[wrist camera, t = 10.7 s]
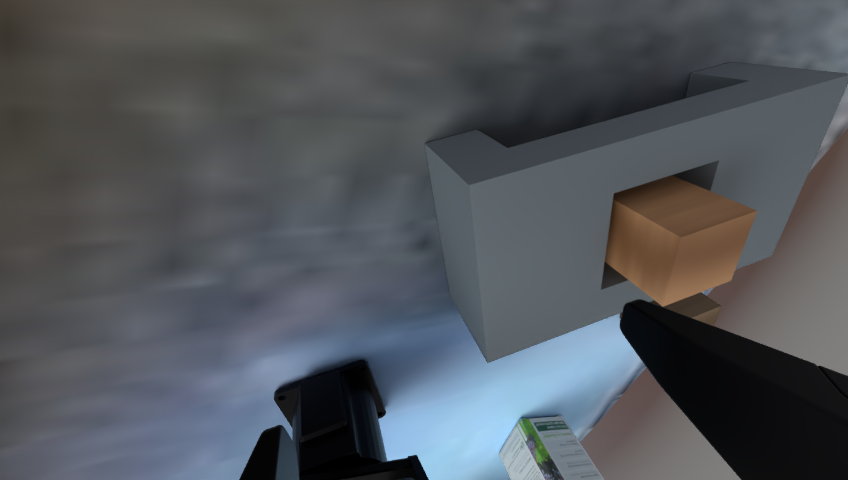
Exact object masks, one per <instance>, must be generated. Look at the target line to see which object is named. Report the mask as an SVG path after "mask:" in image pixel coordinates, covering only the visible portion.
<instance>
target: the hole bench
mask: <svg viewBox="0 0 848 480" xmlns="http://www.w3.org/2000/svg"><path fill="white" fill-rule="evenodd" d="M847 84H848V74H847V73H837V72H827V71H817V70H807V69H797V68H787V67H777V66H767V65H757V64H746V63H736V62H729V63H726V64H722V65H718V66H714V67H710V68H707V69H703V70H699V71H695V72H692V73H691V74H690V79H689V84H688V88H687V93H686V97H685V99H682V100H679V101H675V102H671V103H668V104H664V105H661V106H657V107H653V108H650V109H646V110H643V111H639V112H635V113H632V114H628V115H625V116H621V117H617V118H614V119H610V120H607V121H603V122H599V123H596V124H592V125H589V126H585V127H581V128H578V129H574V130H571V131H567V132H563V133H560V134H556V135H553V136H549V137H545V138H542V139H538V140H535V141H531V142H527V143H524V144H520V145H517V146H513V147H509V148H507V147H505V146H503V145H502V144H500V143H498V142H497V141H495V140H494V139H492V138H490V137H489V136H487V135H485V134H484V133H482V132H480V131H479V130H473V131H469V132H465V133H462V134H458V135H454V136H450V137H447V138H443V139H439V140H435V141H431V142H428V143H425V148H426V154H427V160H428V166H429V172H430V178H431V185H432V191H433V197H434V203H435V209H436V215H437V221H438V227H439V233H440V239H441V245H442V251H443V257H444V263H445V269H446V275H447V281H448V287H449V293H450V297H451V299H452V301H453V303H454V304H455V306H456V308H457V310H458V311H459V313H460V315H461V317H462V319H463V320H464V322H465V324H466V326H467V327H468V329H469V331H470V333H471V334H472V336H473V338H474V340H475V341H476V343H477V345H478V347H479V349H480V350H481V352H482V354H483V356H484V357H485V359H486V361H487V363H489V362H491V361H494V360H497V359H499V358H502V357H505V356H507V355H510V354H513V353H515V352H518V351H521V350H523V349H526V348H529V347H531V346H534V345H536V344H539V343H542V342H544V341H547V340H550V339H552V338H555V337H558V336H560V335H563V334H566V333H568V332H571V331H574V330H576V329H579V328H582V327H584V326H587V325H590V324H592V323H595V322H598V321H600V320H603V319H606V318H608V317H611V316H614V315H616V314H619V313H621V312H622V311H623V307H624V305H625V304H626V303H628V302H630V301H633V300H636V299H642V300H645V301H648V302H651V301H653V300H654V299H652V298H651V297H650V296H648V295H647V294H646V293H645V292H643V291H642V290H641V289H639V288H638V287H637V286H636V285H634V284H633V283H632V282H630V281H629V280H628V279H627V278H625V277H624V276H623V275H621V274H620V273H619V272H618V271H616V270H615V269H614V268H612V267H611V266H610V265H609V264H607V263H606V262H605V255H606V247H607V240H608V232H609V225H610V217H611V210H612V202H613V195H614V193H617V192H620V191H623V190H626V189H629V188H632V187H636V186H639V185H642V184H645V183H648V182H651V181H655V180H658V179H661V178H664V177H667V176H670V175H672V176H675V177H677V178H680V179H682V180H684V181H687V182H689V183H692V184H694V185H697V186H699V187H701V188H704V189H706V190H709V191H711V192H714V193H716V194H718V195H721V196H723V197H726V198H728V199H730V200H733V201H735V202H738V203H740V204H743V205H745V206H747V207H750V208H752V209H755V210H757V214H756V216H755V219H754V221H753V224H752V227H751V229H750V232H749V235H748V237H747V240H746V242H745V245H744V248H743V250H742V253H741V256H740V258H739V261H738V263H737V266H736V269H738V268H741V267H744V266H746V265H749V264H752V263H754V262H757V261H760V260H762V259H765V258H768V257H770V256H772V254H773V252H774V250H775V247H776V245H777V243H778V241H779V238H780V236H781V234H782V232H783V229H784V227H785V225H786V222H787V220H788V218H789V216H790V213H791V211H792V209H793V207H794V204H795V202H796V200H797V198H798V195H799V193H800V191H801V188H802V186H803V184H804V182H805V179H806V177H807V175H808V173H809V170H810V168H811V166H812V164H813V161H814V159H815V157H816V155H817V152H818V150H819V148H820V146H821V143H822V141H823V139H824V136H825V134H826V132H827V130H828V127H829V125H830V123H831V121H832V118H833V116H834V114H835V112H836V109H837V107H838V105H839V103H840V100H841V98H842V96H843V93H844V91H845V89H846V87H847ZM736 269H735V270H736Z"/></svg>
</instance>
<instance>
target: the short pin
mask: <svg viewBox="0 0 848 480" xmlns="http://www.w3.org/2000/svg"><path fill="white" fill-rule="evenodd" d="M650 303H653V304H656V305H658V306H661V305H660V304H659V303H657V302H656V301H655V300H653V301H651V302H650ZM661 307H662V306H661ZM664 308H666V309H669V310H672V311H674V312H677V313H680V314H683V315H685V316H688V317H691V318H693V319H696V320H699V321H701V322H704V323H707V324H709V325H712V326H714V324H715V322H716V319H717V316H718V314H719V311H720V308H721V305H719V304H717V303H716V302H715V301H713V300H712V299H710V298H709V297H707V296H706V295H704V294H703V293H701V292H700V293H697V294H695V295H692V296H690V297H687V298H684V299H682V300H679V301H677V302H674V303H671V304H669V305H666V306H664ZM621 316H622V312H621V313H620V319H621Z"/></svg>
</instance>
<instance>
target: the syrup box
mask: <svg viewBox="0 0 848 480" xmlns="http://www.w3.org/2000/svg"><path fill="white" fill-rule="evenodd" d="M499 455H500V457H501V459H502V462H503V464H504V466H505V468H506V470H507V472H508V474H509V476H510V478H511V480H604V479H603V477H602V476H601V474H600V473H599V471H598V470H597V468H596V467H595V465H594V464H593V462H592V461H591V459H590V458H589V456H588V454H587V453H586V452H585V450H584V449H583V447H582V445H581V444H580V442H579V441H578V439H577V438H576V436H575V435H574V433H573V432H572V430H571V428H570V427H569V425H568V424H567V422H566V421H565V419H564V418H563V417H562V416H561V415H558V416H556V417H543V418H528V419H526V418H521V419H519V421H518V422H517V424H516V426H515V427H514V429H513V431H512V432H511V434H510V435H509V437H508V439H507V440H506V442H505V444H504V446H503V447H502V449H501V451H500V452H499Z"/></svg>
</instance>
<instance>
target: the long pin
mask: <svg viewBox="0 0 848 480" xmlns="http://www.w3.org/2000/svg"><path fill="white" fill-rule="evenodd" d="M756 214H757V210H755V209H752V208H750V207H747V206H745V205H743V204H740V203H738V202H735V201H733V200H730V199H728V198H726V197H723V196H721V195H718V194H716V193H714V192H711V191H709V190H706V189H704V188H701V187H699V186H697V185H694V184H692V183H689V182H687V181H684V180H682V179H680V178H677V177H675V176H672V175H670V176H667V177H664V178H661V179H658V180H655V181H651V182H648V183H645V184H642V185H639V186H636V187H632V188H629V189H626V190H623V191H620V192H617V193H614V195H613V202H612V210H611V217H610V225H609V232H608V240H607V247H606V255H605V262H606V263H607V264H609V265H610V266H611V267H612V268H614V269H615V270H616V271H618V272H619V273H620V274H621V275H623V276H624V277H625V278H627V279H628V280H629V281H630V282H632V283H633V284H634V285H636V286H637V287H638V288H639V289H641V290H642V291H643V292H645V293H646V294H647V295H648V296H650V297H651V298H652V299H654V300H655V301H656V302H657V303H659V304H660V305H661V306H662V307H664V306H666V305H669V304H671V303H674V302H677V301H679V300H682V299H684V298H687V297H690V296H692V295H695V294H697V293H700V292H703V291H705V290H708V289H711V288H713V287H716V286H718V285H721V284H724V283H726V282H729V281H731V279H732V277H733V274H734V271H735V269H736V266H737V263H738V261H739V258H740V256H741V253H742V250H743V248H744V245H745V242H746V240H747V237H748V235H749V232H750V229H751V227H752V224H753V221H754V219H755V216H756Z"/></svg>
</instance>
